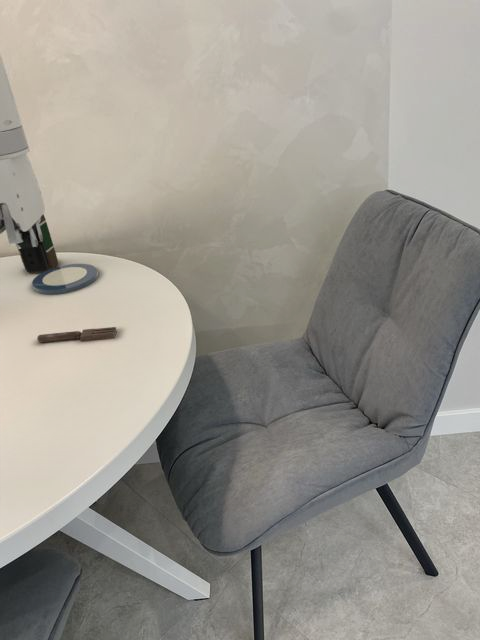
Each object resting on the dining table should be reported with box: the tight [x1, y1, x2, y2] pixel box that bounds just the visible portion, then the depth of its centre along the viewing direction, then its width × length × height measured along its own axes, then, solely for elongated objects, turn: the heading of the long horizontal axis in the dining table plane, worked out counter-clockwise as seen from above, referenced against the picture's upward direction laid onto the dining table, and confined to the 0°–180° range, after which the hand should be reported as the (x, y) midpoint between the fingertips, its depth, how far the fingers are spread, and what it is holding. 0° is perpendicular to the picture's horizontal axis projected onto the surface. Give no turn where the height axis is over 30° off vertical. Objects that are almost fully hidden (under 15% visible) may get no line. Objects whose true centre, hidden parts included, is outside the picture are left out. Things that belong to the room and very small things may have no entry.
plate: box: [31, 263, 99, 295], centre depth 121 cm, size 14×14×1 cm
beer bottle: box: [17, 213, 59, 275], centre depth 123 cm, size 8×8×24 cm
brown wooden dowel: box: [36, 326, 118, 343], centre depth 98 cm, size 14×3×1 cm, turn 93°
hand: (39, 269), depth 83 cm, fingers closed
